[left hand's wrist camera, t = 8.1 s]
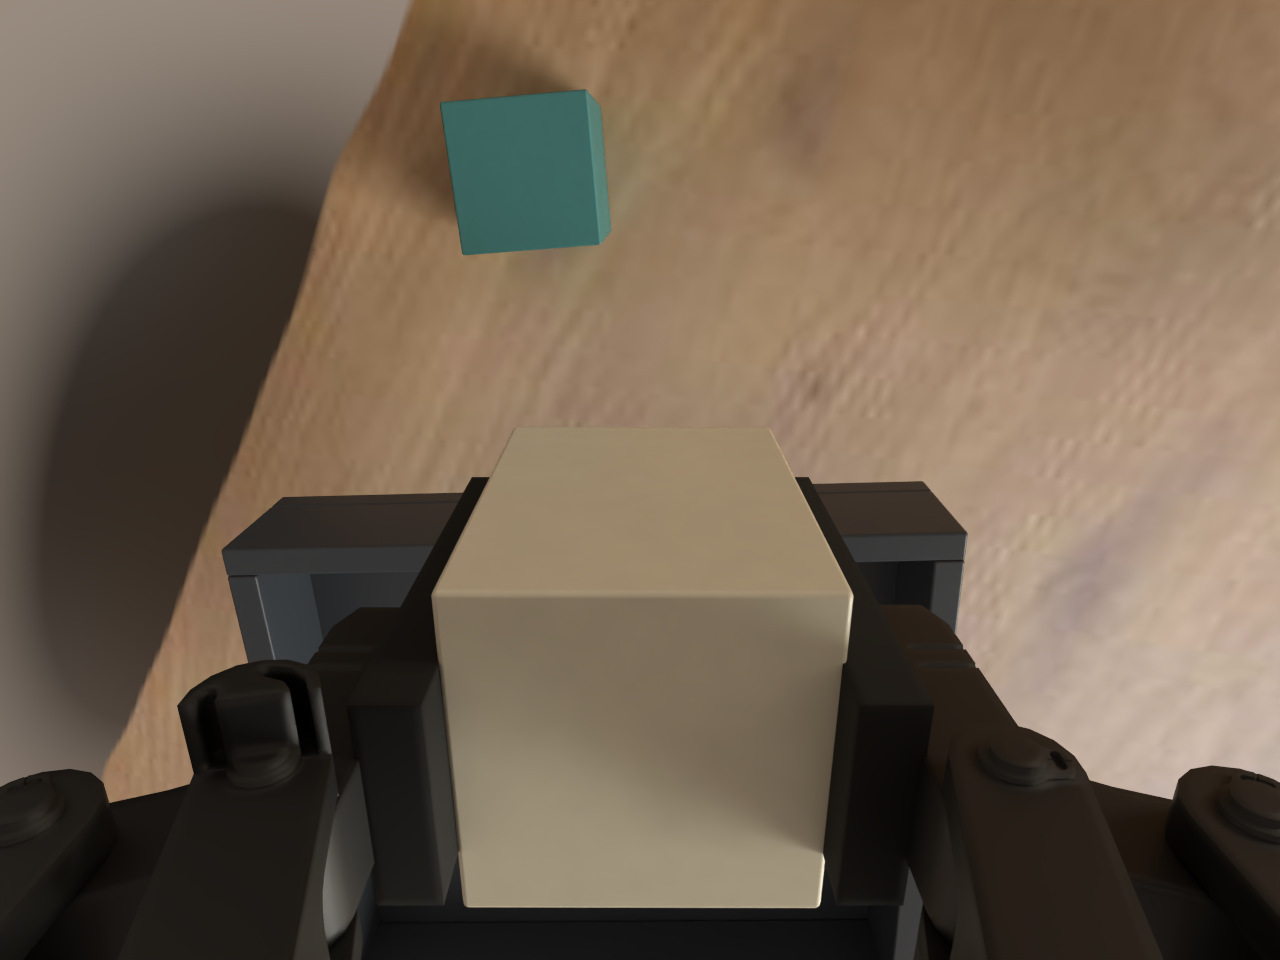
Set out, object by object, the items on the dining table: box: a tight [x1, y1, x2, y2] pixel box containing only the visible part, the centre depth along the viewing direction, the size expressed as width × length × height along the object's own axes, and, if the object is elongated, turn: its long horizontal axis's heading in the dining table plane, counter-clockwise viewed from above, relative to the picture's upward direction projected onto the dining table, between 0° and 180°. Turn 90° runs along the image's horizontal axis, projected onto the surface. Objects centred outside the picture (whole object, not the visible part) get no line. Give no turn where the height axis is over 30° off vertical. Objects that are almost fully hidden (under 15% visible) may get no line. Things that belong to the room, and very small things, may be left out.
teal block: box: [440, 89, 611, 255], centre depth 28 cm, size 4×4×6 cm
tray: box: [222, 481, 968, 960], centre depth 25 cm, size 26×20×8 cm
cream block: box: [431, 427, 854, 908], centre depth 12 cm, size 4×4×6 cm
